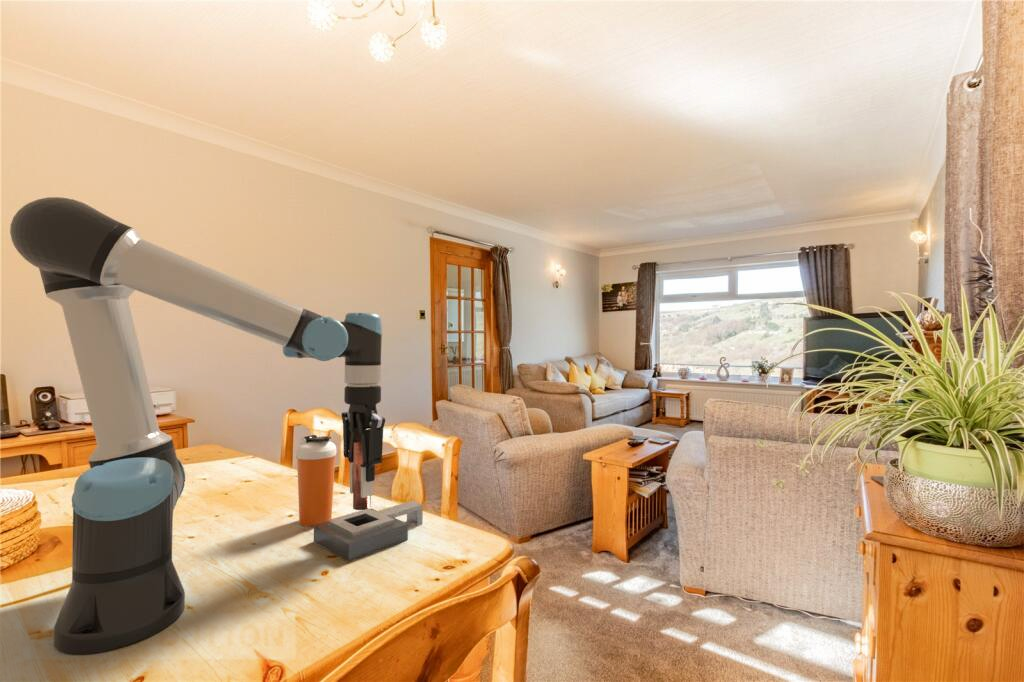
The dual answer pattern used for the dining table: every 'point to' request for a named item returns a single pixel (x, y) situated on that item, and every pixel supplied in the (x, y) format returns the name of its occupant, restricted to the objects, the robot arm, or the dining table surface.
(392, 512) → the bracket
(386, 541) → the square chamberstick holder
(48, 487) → the dining table surface
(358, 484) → the copper cylinder
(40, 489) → the dining table surface
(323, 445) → the shaker bottle
